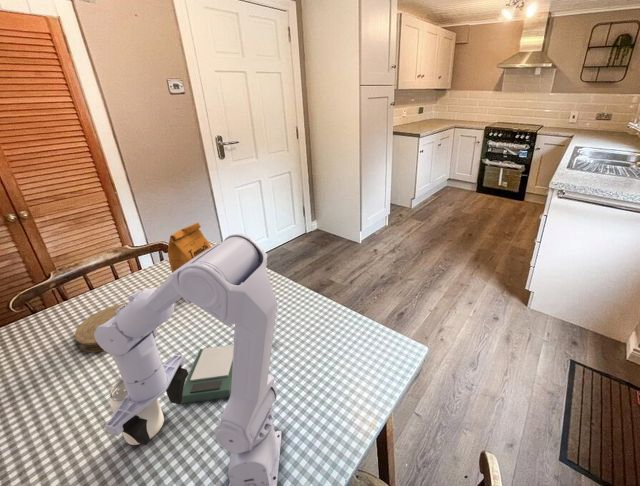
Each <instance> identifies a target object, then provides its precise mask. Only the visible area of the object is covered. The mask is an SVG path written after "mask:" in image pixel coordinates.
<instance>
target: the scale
mask: <svg viewBox="0 0 640 486" xmlns="http://www.w3.org/2000/svg"><path fill="white" fill-rule="evenodd" d="M233 349H234V344H232V345H224V346H223V345H222V346H216V347H207V348H201V349H200V348H199V351H198V354H197V356H196V358H195V360H194V362H193V365H192V367H191V369H190V372H189V373H188V376H187V378H186V380H185V383H184V387H183V395H182V402H181V404H182V405H183V404H188V403H196V402H203V401H210V400H218V399H225V398H230V396H231V386H232V367H233Z"/></svg>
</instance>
